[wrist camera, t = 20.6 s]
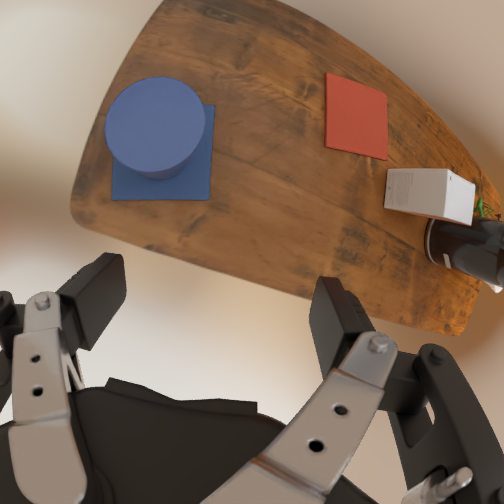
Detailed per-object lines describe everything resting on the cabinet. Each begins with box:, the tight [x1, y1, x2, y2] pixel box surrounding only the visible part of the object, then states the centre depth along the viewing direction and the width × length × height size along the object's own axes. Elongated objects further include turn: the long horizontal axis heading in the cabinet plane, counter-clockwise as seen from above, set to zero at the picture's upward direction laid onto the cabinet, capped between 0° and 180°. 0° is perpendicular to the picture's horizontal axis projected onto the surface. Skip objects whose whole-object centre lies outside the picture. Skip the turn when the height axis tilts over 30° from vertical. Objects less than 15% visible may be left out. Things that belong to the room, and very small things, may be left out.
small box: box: [384, 168, 475, 226], centre depth 30 cm, size 8×6×10 cm
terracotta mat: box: [325, 73, 388, 161], centre depth 30 cm, size 10×10×1 cm
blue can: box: [105, 77, 206, 180], centre depth 19 cm, size 6×6×12 cm
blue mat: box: [112, 105, 215, 200], centre depth 25 cm, size 10×10×1 cm
